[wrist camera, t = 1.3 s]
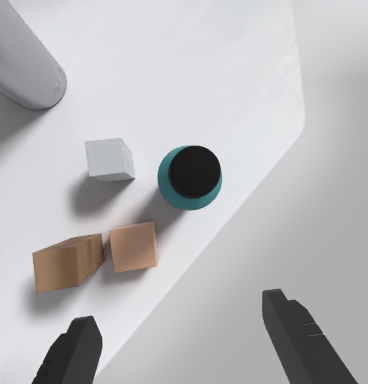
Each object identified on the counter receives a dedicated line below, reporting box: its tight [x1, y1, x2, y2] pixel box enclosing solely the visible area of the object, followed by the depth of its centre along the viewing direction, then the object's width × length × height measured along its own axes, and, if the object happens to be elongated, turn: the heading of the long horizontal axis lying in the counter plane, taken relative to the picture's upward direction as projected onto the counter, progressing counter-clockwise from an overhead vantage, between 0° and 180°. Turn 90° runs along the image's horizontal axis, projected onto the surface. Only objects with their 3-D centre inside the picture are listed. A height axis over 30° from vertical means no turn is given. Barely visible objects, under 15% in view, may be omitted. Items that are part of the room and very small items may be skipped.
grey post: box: [85, 138, 135, 182], centre depth 30 cm, size 4×4×8 cm
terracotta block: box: [109, 221, 159, 273], centre depth 32 cm, size 6×6×5 cm
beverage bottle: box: [158, 146, 222, 210], centre depth 25 cm, size 6×7×20 cm
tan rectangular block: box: [32, 234, 105, 293], centre depth 29 cm, size 4×4×10 cm
